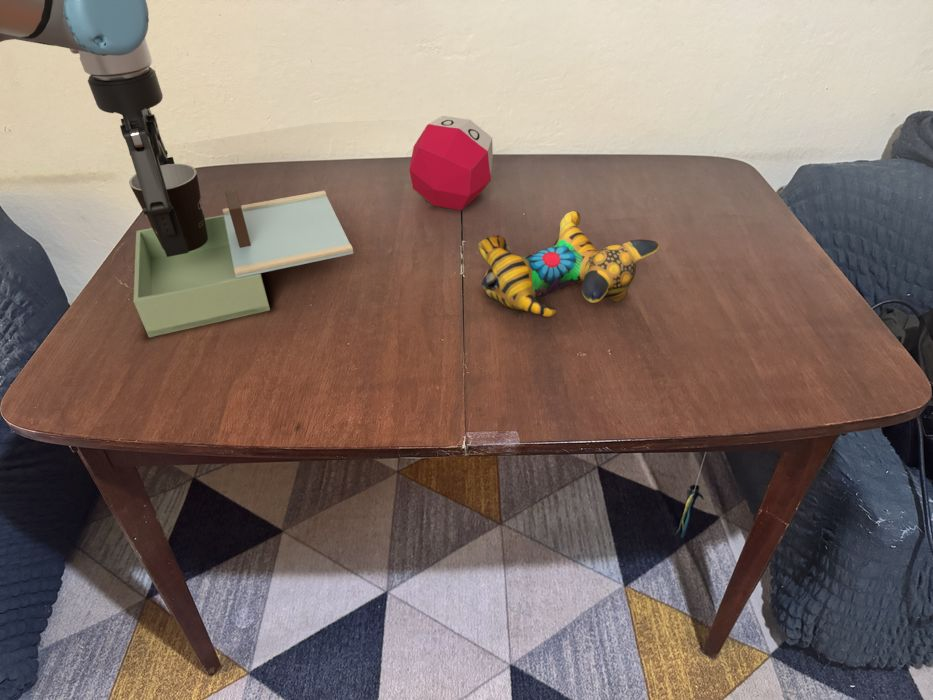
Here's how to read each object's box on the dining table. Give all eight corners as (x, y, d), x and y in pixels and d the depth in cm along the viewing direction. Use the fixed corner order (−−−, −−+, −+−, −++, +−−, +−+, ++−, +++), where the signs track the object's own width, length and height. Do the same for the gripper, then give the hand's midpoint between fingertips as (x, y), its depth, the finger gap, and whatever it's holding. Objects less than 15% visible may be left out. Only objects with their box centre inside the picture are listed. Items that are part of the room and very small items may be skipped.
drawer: (236, 278, 86) (223, 234, 82) (223, 214, 101) (212, 174, 97) (353, 253, 91) (347, 211, 86) (325, 196, 105) (318, 157, 101)
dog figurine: (480, 313, 96) (560, 367, 84) (460, 245, 88) (546, 294, 76) (577, 248, 102) (665, 289, 90) (566, 179, 94) (661, 213, 82)
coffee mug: (168, 226, 96) (145, 163, 90) (224, 227, 96) (205, 163, 90) (133, 268, 88) (106, 201, 81) (195, 269, 87) (173, 201, 81)
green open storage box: (148, 337, 87) (133, 301, 83) (149, 264, 101) (136, 230, 98) (270, 310, 91) (260, 274, 87) (253, 243, 106) (244, 210, 102)
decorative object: (398, 136, 102) (437, 87, 110) (391, 202, 115) (426, 154, 123) (483, 174, 101) (516, 122, 109) (466, 237, 114) (496, 185, 122)
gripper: (92, 49, 84) (148, 200, 98) (76, 107, 66) (147, 281, 80) (153, 43, 86) (199, 191, 100) (153, 97, 68) (209, 268, 82)
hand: (176, 231), depth 90 cm, fingers closed on coffee mug, 12 cm apart
